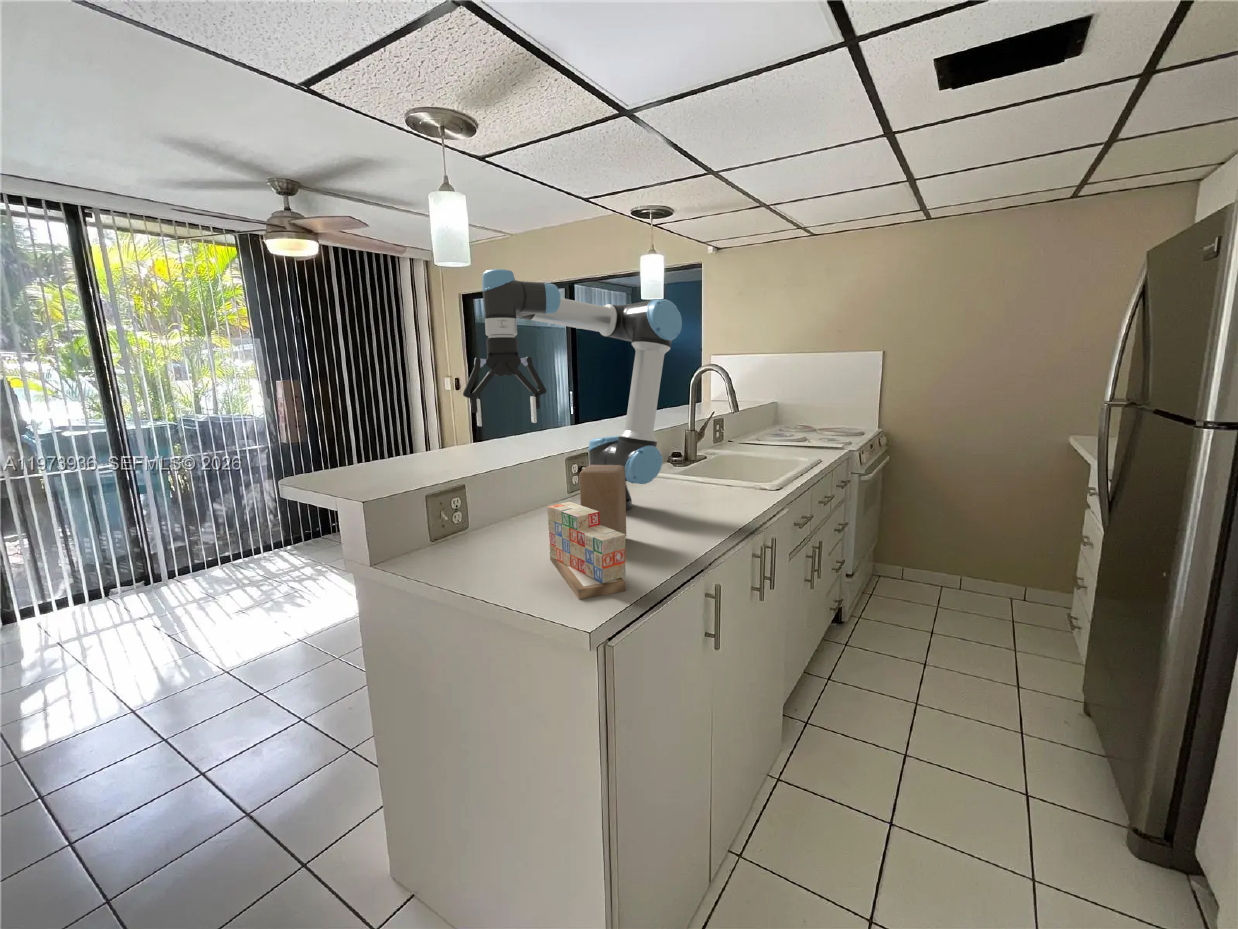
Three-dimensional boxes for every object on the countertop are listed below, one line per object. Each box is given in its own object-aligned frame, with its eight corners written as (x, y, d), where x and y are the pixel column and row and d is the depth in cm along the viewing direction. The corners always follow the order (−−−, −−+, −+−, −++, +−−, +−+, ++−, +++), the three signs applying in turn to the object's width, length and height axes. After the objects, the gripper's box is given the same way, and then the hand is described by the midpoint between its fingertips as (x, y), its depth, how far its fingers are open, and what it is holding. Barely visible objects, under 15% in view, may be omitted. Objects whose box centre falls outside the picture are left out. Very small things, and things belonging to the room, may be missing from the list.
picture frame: (589, 553, 133) (589, 545, 132) (625, 590, 110) (625, 581, 110) (550, 559, 129) (549, 551, 129) (578, 599, 107) (578, 589, 107)
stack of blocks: (626, 576, 112) (625, 520, 110) (602, 584, 109) (600, 526, 106) (572, 550, 129) (570, 500, 127) (549, 556, 125) (546, 505, 123)
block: (619, 550, 134) (617, 472, 131) (581, 548, 136) (578, 471, 133) (627, 537, 144) (625, 464, 140) (591, 536, 146) (588, 464, 142)
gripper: (449, 336, 123) (457, 428, 127) (555, 335, 132) (559, 422, 136) (447, 338, 130) (454, 425, 134) (548, 337, 139) (552, 419, 143)
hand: (507, 424), depth 135 cm, fingers open, 13 cm apart
